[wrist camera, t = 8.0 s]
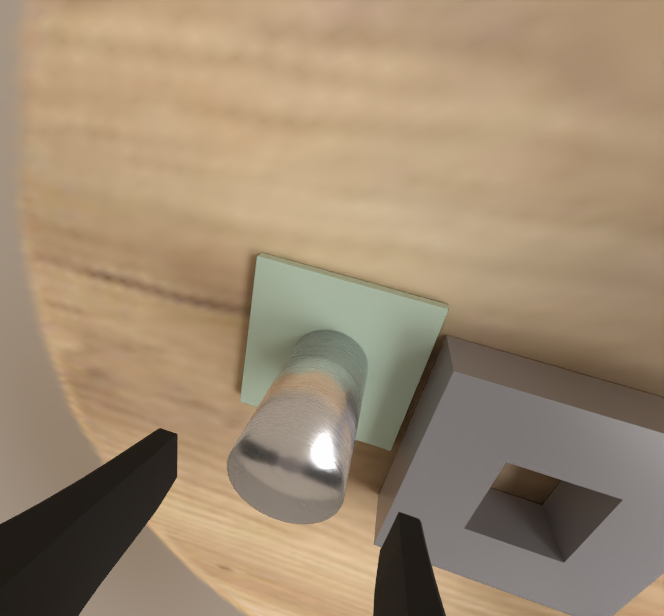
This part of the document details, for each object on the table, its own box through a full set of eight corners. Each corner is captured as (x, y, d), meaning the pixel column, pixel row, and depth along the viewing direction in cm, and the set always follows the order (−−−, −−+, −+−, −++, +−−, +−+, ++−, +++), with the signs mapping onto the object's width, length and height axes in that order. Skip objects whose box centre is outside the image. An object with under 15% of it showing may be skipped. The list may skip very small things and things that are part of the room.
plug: (383, 355, 16) (367, 478, 10) (344, 408, 18) (311, 539, 12) (311, 315, 16) (251, 414, 10) (280, 371, 18) (212, 485, 12)
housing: (718, 413, 15) (787, 470, 12) (574, 562, 20) (600, 626, 17) (446, 335, 16) (453, 370, 13) (378, 495, 21) (373, 544, 18)
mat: (447, 304, 15) (448, 309, 15) (391, 443, 19) (390, 450, 19) (262, 252, 16) (257, 255, 16) (244, 395, 20) (239, 401, 20)
